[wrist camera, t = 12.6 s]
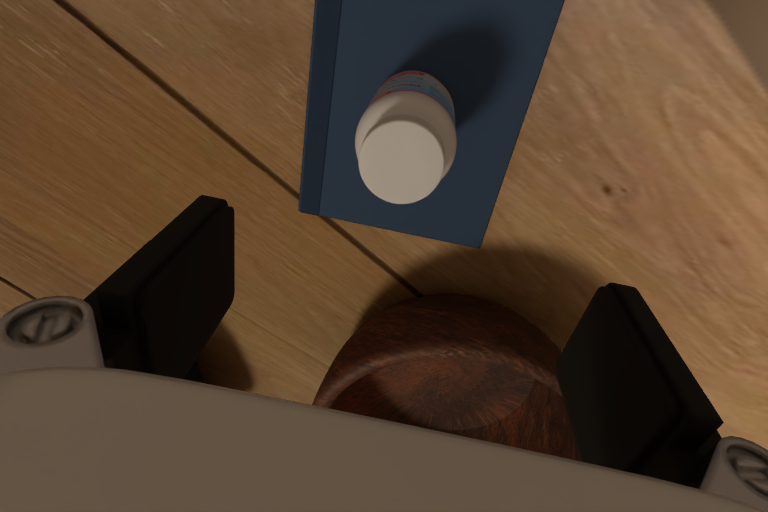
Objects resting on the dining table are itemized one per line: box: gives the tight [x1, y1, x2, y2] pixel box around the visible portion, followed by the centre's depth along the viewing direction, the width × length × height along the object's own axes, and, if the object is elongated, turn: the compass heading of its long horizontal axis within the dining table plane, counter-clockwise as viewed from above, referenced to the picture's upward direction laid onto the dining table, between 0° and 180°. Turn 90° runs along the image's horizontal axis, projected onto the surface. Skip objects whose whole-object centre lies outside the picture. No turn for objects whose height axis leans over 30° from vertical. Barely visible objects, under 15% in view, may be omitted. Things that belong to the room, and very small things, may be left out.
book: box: [298, 0, 564, 248], centre depth 33 cm, size 20×16×1 cm
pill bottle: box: [355, 71, 457, 204], centre depth 28 cm, size 6×6×11 cm
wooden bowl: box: [312, 295, 582, 462], centre depth 42 cm, size 25×25×10 cm
